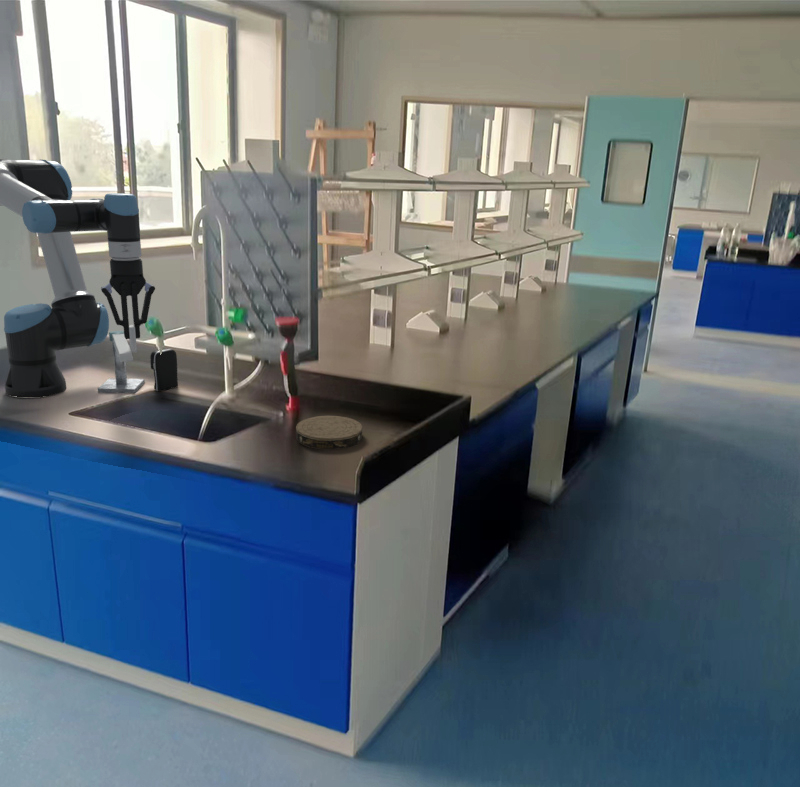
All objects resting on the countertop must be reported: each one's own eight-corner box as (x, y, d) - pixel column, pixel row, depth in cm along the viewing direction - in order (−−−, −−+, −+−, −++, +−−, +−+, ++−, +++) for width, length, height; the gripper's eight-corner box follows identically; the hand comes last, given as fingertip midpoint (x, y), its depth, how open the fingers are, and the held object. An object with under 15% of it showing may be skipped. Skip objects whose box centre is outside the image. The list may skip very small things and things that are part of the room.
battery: (171, 384, 213) (168, 346, 209) (179, 387, 211) (177, 348, 207) (150, 389, 208) (147, 350, 204) (158, 392, 205) (155, 352, 202)
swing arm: (108, 338, 205) (108, 331, 205) (125, 337, 207) (125, 330, 206) (117, 361, 183) (116, 354, 182) (135, 360, 184) (135, 352, 184)
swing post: (98, 392, 203) (93, 344, 199) (109, 382, 213) (105, 336, 209) (134, 393, 204) (131, 345, 200) (144, 382, 213) (141, 337, 209)
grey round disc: (334, 422, 188) (334, 411, 187) (375, 440, 177) (375, 428, 176) (282, 436, 177) (282, 424, 177) (323, 456, 167) (323, 443, 166)
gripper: (98, 261, 175) (107, 356, 182) (155, 259, 180) (161, 352, 187) (96, 257, 181) (105, 349, 188) (151, 255, 186) (158, 345, 194)
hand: (133, 350), depth 188 cm, fingers closed
